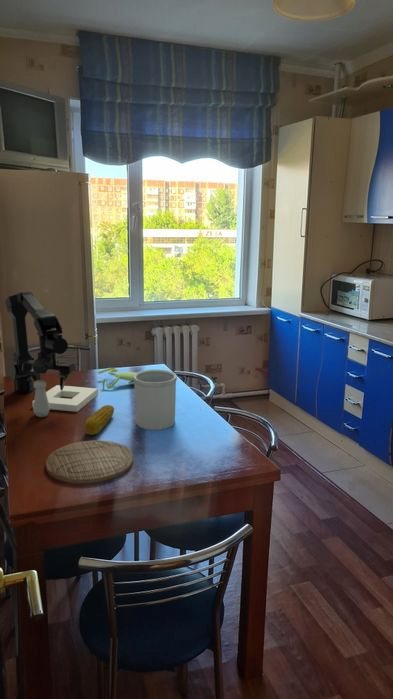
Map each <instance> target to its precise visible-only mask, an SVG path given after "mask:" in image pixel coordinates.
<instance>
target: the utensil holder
mask: <svg viewBox="0 0 393 699" xmlns="http://www.w3.org/2000/svg"><path fill="white" fill-rule="evenodd" d="M135 373H136V374H135V375H134V382H133V383H134V406H135V407H134V408H135V409H134V410H135V422H136V425H137V426H138V427H139V428H140V429H145V430H148V431H149V430H150V431H159V430H161V431H162V430H166V429H169V428H171V427H172V426H174V425H175V423H176V401H177V400H176V396H177V394H176V393H177V392H176V391H177V389H176V388H177V387H176V386H177V377H178V376H177V374H176V373H175V372H174V371H172V370H167V369H146V370H145V369H144V370H141V371H138V372H135Z"/></svg>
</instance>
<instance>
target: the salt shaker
mask: <svg viewBox="0 0 393 699" xmlns="http://www.w3.org/2000/svg"><path fill="white" fill-rule="evenodd" d="M46 387H47V381H45V380H43V379H40V380H37V381H34V382H33V388H34V389H35V393H34V400H33V401H34V407H33V406H32V411H33V412H34V415H35V416H36V417H37V416H38V417H39V418H43V417H47V416H48V415H49V413H50V410H51V409H50V406H49V402H48V398H47V394H46V392H47V391H46ZM38 417H37V418H38Z"/></svg>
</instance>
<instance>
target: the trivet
mask: <svg viewBox="0 0 393 699" xmlns="http://www.w3.org/2000/svg"><path fill="white" fill-rule="evenodd" d="M133 463H134V454H133V452H132V450H130V449H129V448H128V447H127V446H125V445H123V444H121V443H118V442H114V441H109V440H108V441H107V440H92V439H91V440H84V441H78V442H72V443H69V444H66V445H64V446H61V447H59V448H57V449H56V450H54V451H52V452H51V453H50V454H49V455H48V456H47V458H46V460H45V467H46V472H47V474H48V475H49V477H51V478H53V479H54V480H56V481H58V482H59V481H60V482H61V483H63V484H64V483H65V484H71V485H94V484H101V483H105V482H108V481H109V482H110V481H112V480H115V479H117V478H119V477H121V476H123V475H124V474H126V473H127V472H128V471H129V470H130V469H131V467H133Z"/></svg>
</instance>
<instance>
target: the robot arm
mask: <svg viewBox="0 0 393 699" xmlns="http://www.w3.org/2000/svg"><path fill="white" fill-rule="evenodd" d="M4 303H5V308H6V311H7V313H8V315H9V316H10V317H11V318H12V324H13V325H12V327H13V336H14V345H15V355H14V357H13V359H12V365H11V368H10V371H9V377H10V378H11V379H12V380H13V386H14V390H13V391H12V394H21V393H22V394H24V395H28V394H29V393H31V392H32V391H34V390H35V388H34V382H35V381H37V380H41V375H42V374H46V373H47V372H48V371H52V370H53V371H58V373H59V374H58V376H59V385H60V389H61V390H63V388H64V386H66V385H65V384H66V382H67V379H68V377H69V375H70V374H72V373H73V372H75V371H76V370H77V369H76V364H75V363H74V362H63V363H62V364H59V360H57V355H62V354H65V352H66V351H67V350H68V347H69V344H68V341H67V340H66V339H65V338H64V337H63V328H62V325H61V324H60V322H59V319H58V317H57V316H56V315H55V314H54V313H53V312H51V311H49V310H46V309H45V308H44V307H43V306H42V305H41V304H40V302H39V301H38V300H37V299H36V298H35V296H34V294H33V293H32V291H19V292H18V293H16V294H13V295H8V296H7V298H6V299H5V300H4ZM28 313H29V314H30V315H31V317H32V319H34V320H33V326H34V327H35V329H36V331H37V332H36V335H37V336H38V342H39V343H38V344H39V345H38V346H39V352H37V358H36V359H35V358H34V357H33V356H32V355H31V354H30V353H29V345H28V344H29V342H28V334H27V323H26V317H27V315H28ZM32 379H33V380H32ZM33 381H34V382H33ZM27 393H28V394H27Z"/></svg>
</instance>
